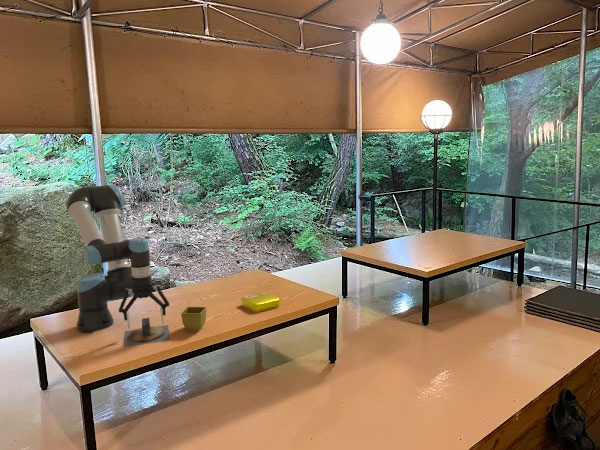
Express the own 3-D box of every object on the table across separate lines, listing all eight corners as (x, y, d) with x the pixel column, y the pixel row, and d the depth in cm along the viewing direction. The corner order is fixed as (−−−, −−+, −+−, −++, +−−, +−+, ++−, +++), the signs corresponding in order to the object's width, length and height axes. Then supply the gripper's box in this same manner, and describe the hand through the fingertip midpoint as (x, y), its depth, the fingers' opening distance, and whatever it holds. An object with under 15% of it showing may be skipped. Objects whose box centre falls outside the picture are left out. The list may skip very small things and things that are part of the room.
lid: (128, 344, 191) (127, 329, 190) (129, 332, 204) (128, 318, 203) (164, 338, 195) (163, 324, 194) (163, 327, 208) (162, 313, 207)
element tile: (254, 313, 224) (254, 304, 224) (239, 305, 236) (239, 296, 236) (281, 307, 233) (281, 297, 232) (265, 299, 245) (265, 290, 244)
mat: (123, 348, 188) (123, 347, 188) (125, 332, 205) (125, 331, 205) (170, 341, 194) (170, 340, 194) (168, 326, 211) (168, 325, 211)
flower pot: (208, 326, 210) (206, 306, 208) (202, 333, 201) (200, 313, 199) (188, 326, 210) (187, 306, 209) (182, 333, 202) (180, 313, 200)
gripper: (108, 281, 188) (113, 332, 192) (173, 274, 196) (177, 323, 199) (109, 276, 195) (114, 326, 199) (172, 270, 203) (175, 317, 206)
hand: (146, 325), depth 199 cm, fingers open, 13 cm apart
